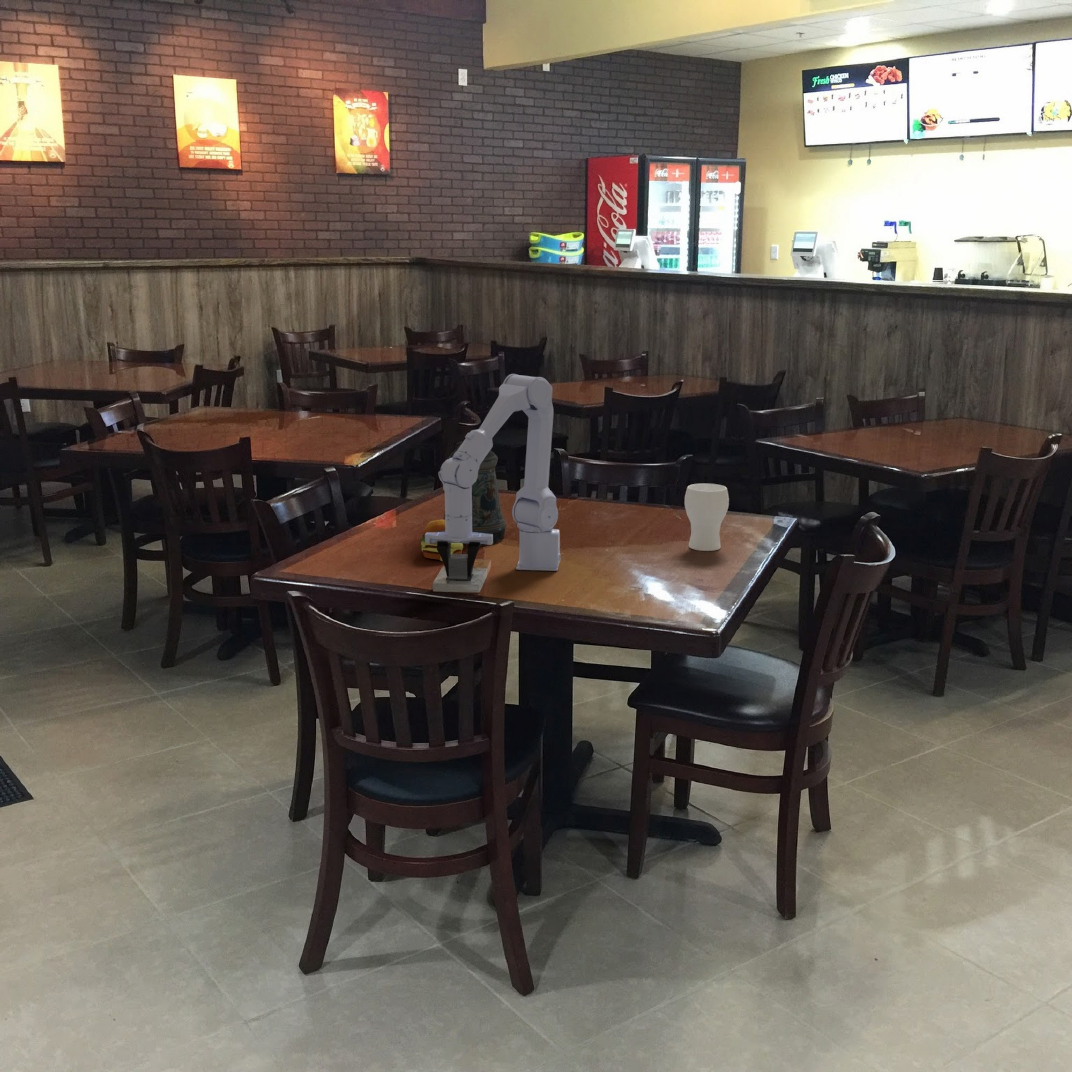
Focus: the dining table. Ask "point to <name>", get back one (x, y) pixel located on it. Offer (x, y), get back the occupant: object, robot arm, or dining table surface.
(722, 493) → the cup
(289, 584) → the dining table surface
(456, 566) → the block
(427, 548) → the cheeseburger
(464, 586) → the grey flat rectangular block
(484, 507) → the beer stein
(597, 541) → the dining table surface
